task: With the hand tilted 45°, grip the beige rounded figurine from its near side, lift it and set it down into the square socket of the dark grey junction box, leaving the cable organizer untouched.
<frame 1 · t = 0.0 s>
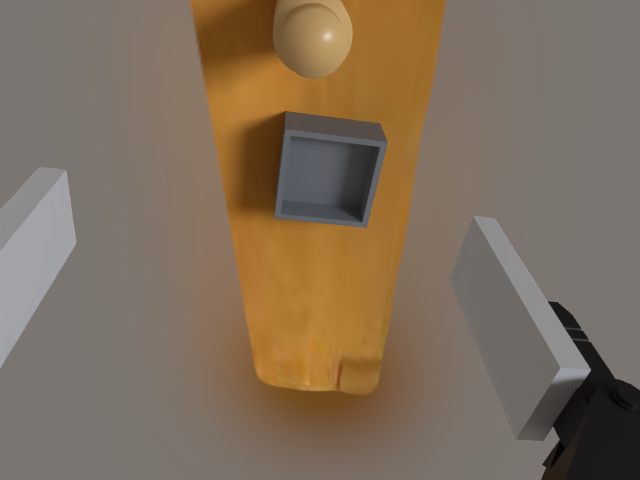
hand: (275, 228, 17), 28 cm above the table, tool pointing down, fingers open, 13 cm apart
beige rounded figurine: (308, 9, 39), on the table
junction box: (325, 161, 46), on the table
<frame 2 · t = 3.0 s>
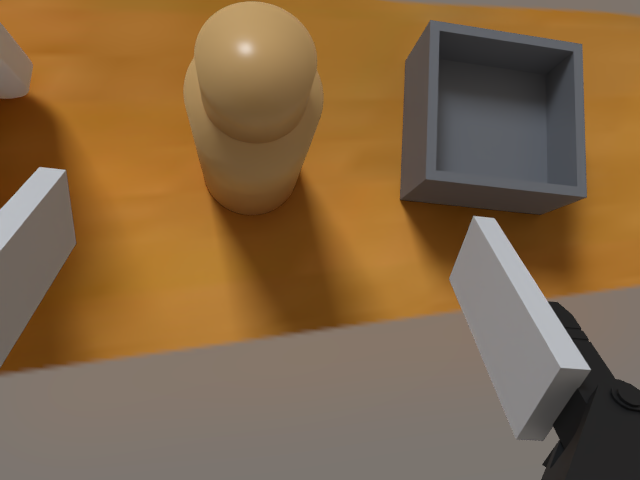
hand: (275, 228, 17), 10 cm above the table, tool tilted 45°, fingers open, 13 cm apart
beige rounded figurine: (250, 169, 27), on the table
junction box: (472, 137, 29), on the table
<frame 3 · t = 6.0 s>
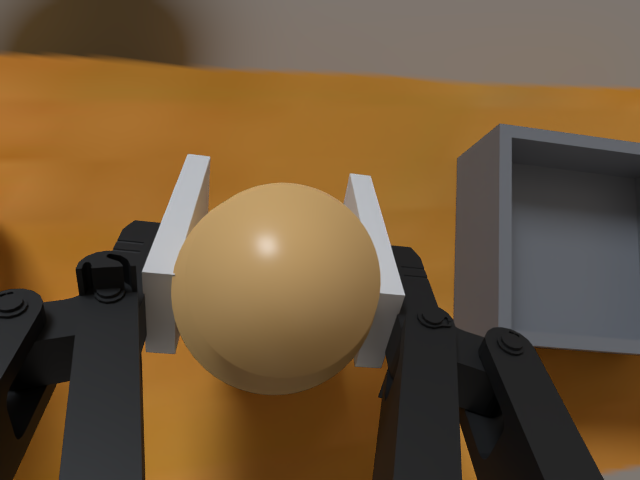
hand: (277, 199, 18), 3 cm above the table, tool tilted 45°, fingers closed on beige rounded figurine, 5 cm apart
beige rounded figurine: (263, 306, 21), on the table, touching gripper
junction box: (541, 255, 23), on the table
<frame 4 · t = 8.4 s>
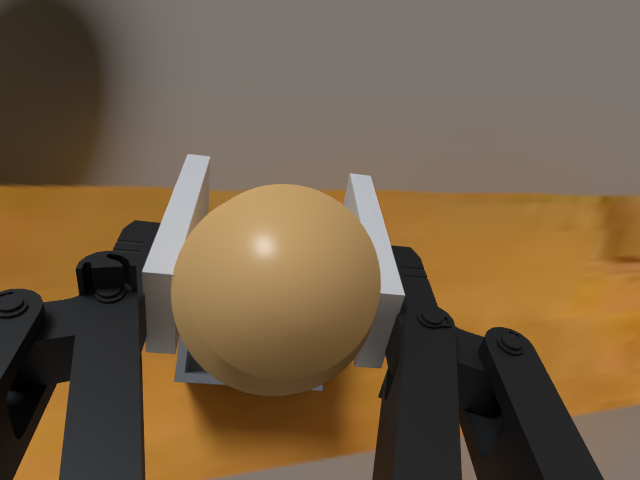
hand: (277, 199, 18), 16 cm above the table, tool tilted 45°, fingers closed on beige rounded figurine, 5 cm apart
beige rounded figurine: (263, 307, 21), point 13 cm above the table, touching gripper
junction box: (255, 314, 33), on the table
when the fingers open (6 cm above the table, at t = 10.8 s): beige rounded figurine stays where it is, resting on junction box.
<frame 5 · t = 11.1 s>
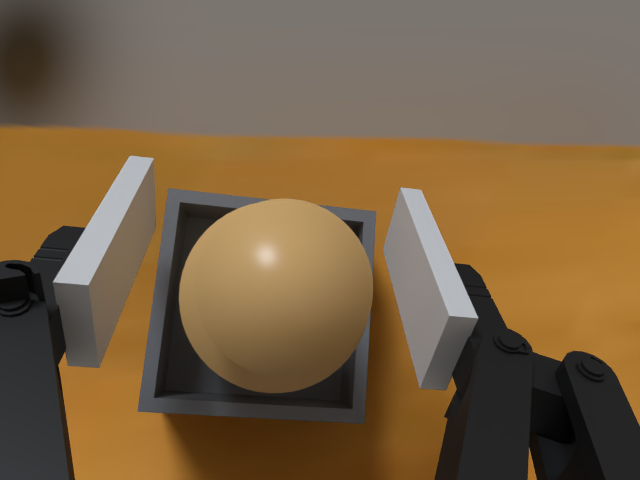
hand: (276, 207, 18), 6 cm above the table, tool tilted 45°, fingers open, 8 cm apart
beige rounded figurine: (262, 308, 22), point 2 cm above the table, touching junction box
junction box: (261, 309, 23), on the table
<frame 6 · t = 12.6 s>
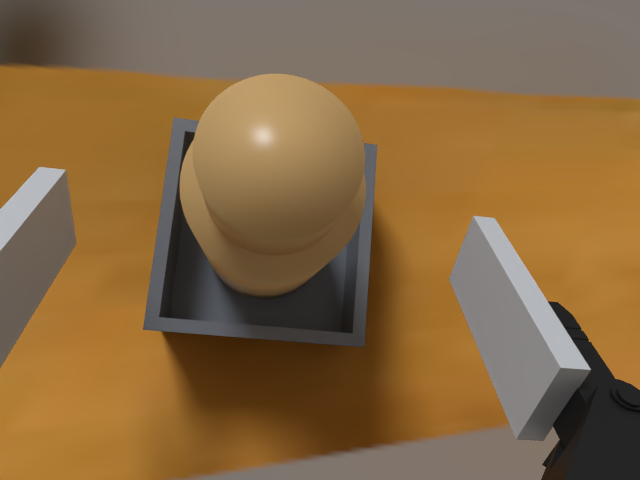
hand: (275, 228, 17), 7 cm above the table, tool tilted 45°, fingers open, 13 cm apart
beige rounded figurine: (264, 243, 22), point 2 cm above the table, touching junction box
junction box: (264, 247, 24), on the table
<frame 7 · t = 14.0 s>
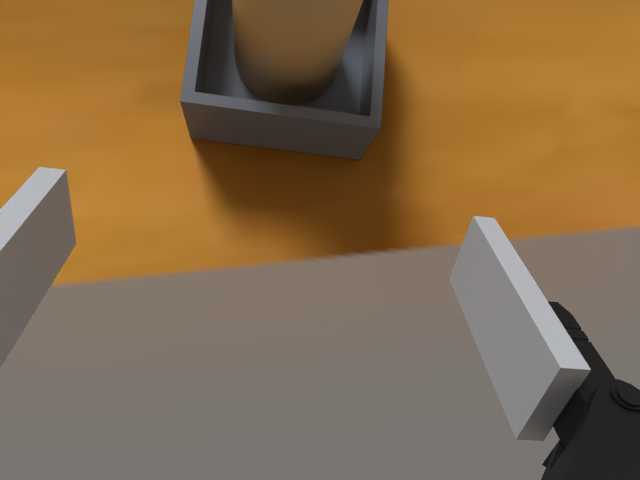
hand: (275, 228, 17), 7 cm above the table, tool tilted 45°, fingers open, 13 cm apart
beige rounded figurine: (287, 56, 24), point 2 cm above the table, touching junction box
junction box: (285, 71, 26), on the table
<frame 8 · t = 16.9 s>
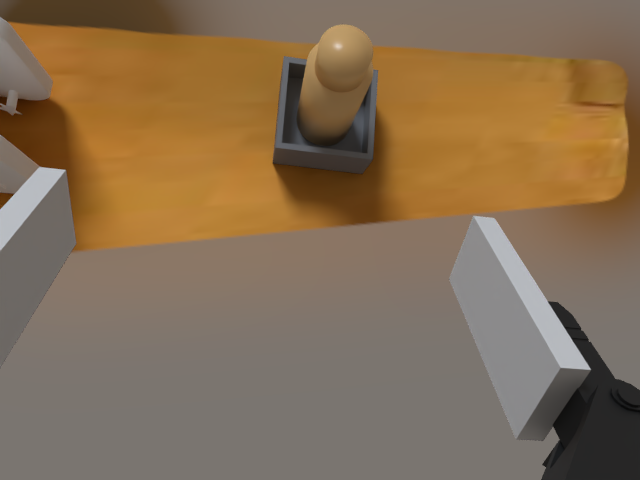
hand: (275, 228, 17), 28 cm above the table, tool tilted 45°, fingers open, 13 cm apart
beige rounded figurine: (323, 119, 46), point 2 cm above the table, touching junction box
junction box: (321, 126, 47), on the table
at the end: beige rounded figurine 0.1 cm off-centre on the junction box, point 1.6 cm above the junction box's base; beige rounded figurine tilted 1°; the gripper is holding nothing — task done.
